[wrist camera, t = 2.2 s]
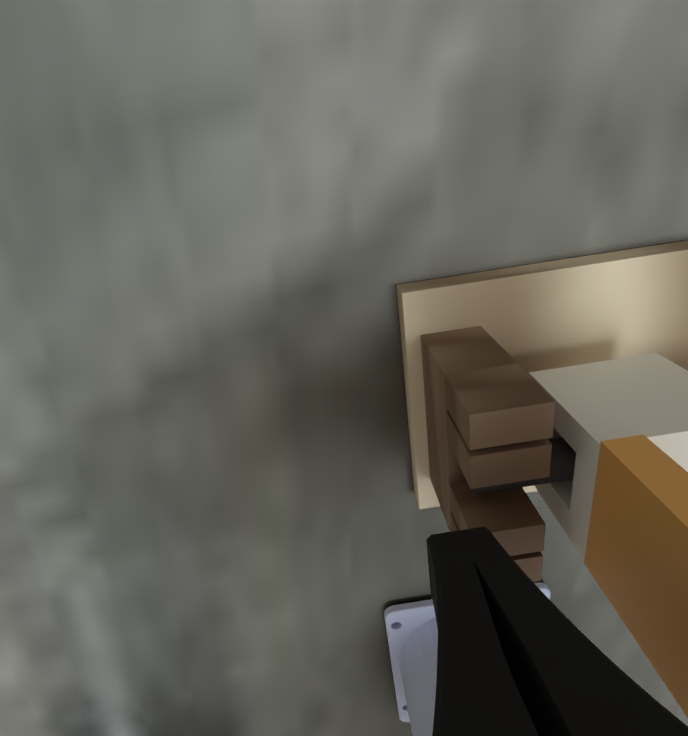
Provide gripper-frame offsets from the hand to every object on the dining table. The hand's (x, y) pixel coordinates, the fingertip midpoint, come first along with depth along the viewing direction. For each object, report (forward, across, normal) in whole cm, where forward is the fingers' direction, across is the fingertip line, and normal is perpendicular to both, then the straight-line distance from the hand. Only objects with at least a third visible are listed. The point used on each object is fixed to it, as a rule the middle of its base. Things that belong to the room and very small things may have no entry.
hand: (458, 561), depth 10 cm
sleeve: (+5, -6, 0) cm, 7 cm away
